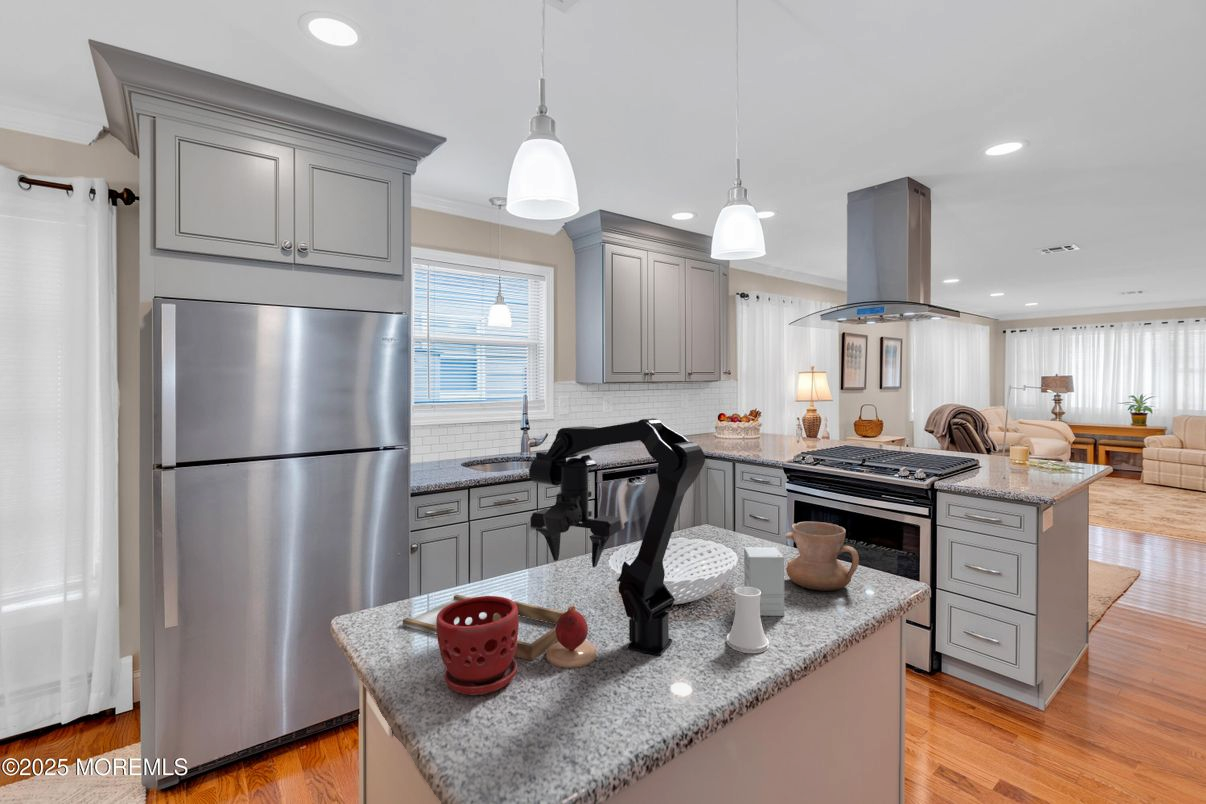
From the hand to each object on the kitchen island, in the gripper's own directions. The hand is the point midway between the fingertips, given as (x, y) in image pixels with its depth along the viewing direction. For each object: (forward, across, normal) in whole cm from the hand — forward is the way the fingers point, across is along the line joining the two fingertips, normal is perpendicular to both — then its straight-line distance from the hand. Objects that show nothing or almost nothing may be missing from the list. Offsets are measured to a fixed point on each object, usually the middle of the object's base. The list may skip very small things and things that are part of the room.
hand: (574, 563), depth 115 cm
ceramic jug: (+12, +42, +45) cm, 63 cm away
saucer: (+12, +7, -13) cm, 19 cm away
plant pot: (+12, -2, -28) cm, 30 cm away
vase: (+12, +34, +6) cm, 37 cm away
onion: (+11, +7, -13) cm, 19 cm away
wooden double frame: (+12, -14, -10) cm, 21 cm away
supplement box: (+12, +33, +24) cm, 43 cm away
